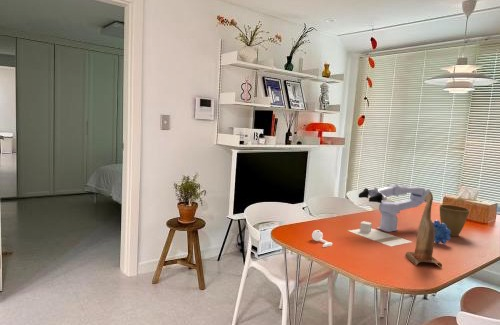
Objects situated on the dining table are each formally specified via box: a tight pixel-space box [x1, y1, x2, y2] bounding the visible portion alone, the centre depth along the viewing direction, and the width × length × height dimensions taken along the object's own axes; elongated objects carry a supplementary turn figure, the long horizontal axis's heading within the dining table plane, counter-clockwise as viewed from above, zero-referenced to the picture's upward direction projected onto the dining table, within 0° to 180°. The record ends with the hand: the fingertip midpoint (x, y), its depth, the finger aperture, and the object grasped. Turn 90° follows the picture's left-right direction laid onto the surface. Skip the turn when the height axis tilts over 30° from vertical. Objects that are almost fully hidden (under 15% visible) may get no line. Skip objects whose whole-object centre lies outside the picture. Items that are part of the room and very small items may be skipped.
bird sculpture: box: [405, 191, 443, 268], centre depth 154 cm, size 11×12×32 cm
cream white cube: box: [359, 220, 373, 233], centre depth 198 cm, size 5×5×5 cm
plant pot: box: [439, 204, 470, 237], centre depth 202 cm, size 15×15×16 cm
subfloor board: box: [348, 227, 412, 247], centre depth 191 cm, size 18×28×1 cm, turn 32°
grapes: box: [432, 219, 452, 245], centre depth 184 cm, size 12×7×12 cm, turn 57°
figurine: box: [311, 229, 333, 248], centre depth 174 cm, size 8×6×12 cm
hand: (364, 197), depth 194 cm, fingers open, 7 cm apart
